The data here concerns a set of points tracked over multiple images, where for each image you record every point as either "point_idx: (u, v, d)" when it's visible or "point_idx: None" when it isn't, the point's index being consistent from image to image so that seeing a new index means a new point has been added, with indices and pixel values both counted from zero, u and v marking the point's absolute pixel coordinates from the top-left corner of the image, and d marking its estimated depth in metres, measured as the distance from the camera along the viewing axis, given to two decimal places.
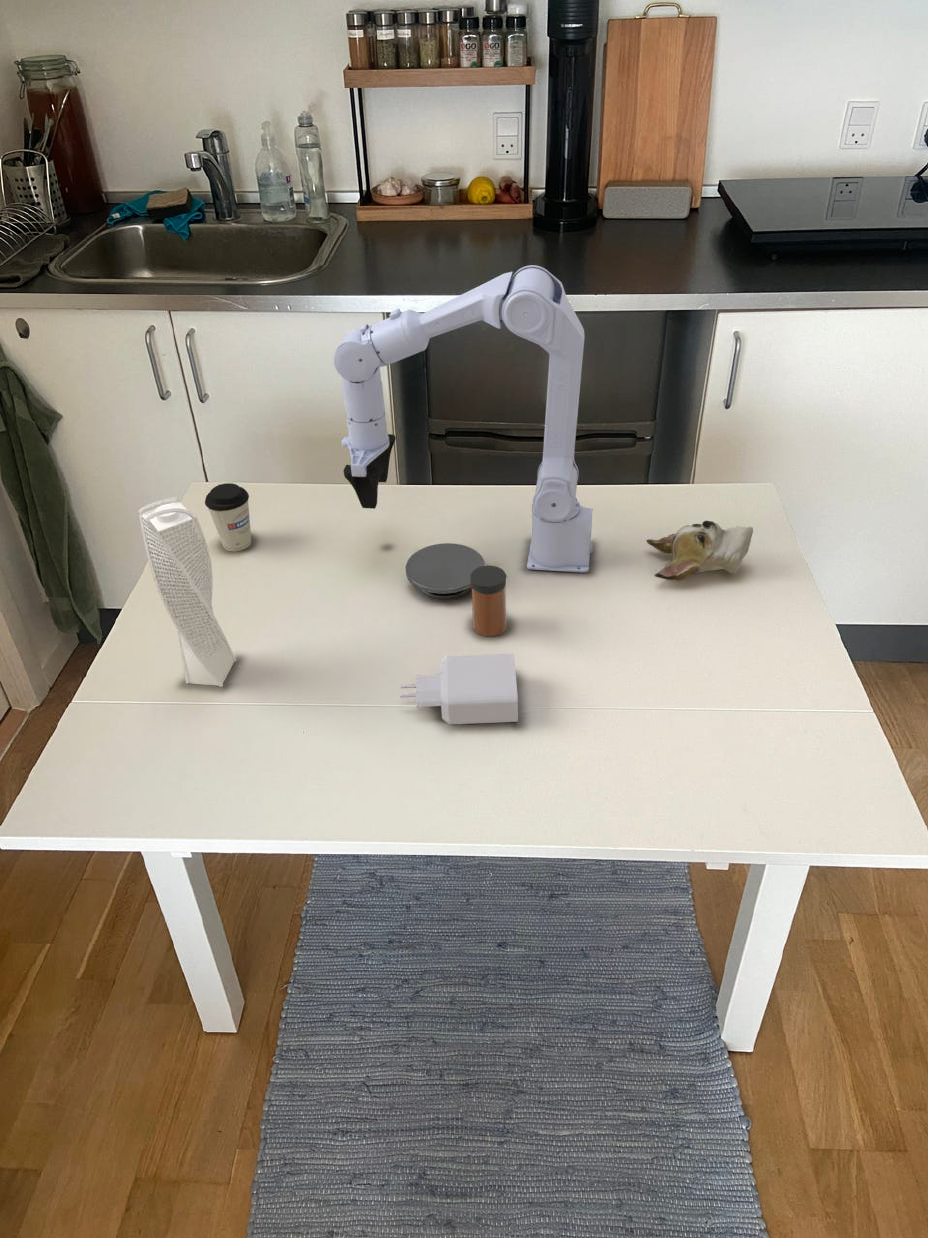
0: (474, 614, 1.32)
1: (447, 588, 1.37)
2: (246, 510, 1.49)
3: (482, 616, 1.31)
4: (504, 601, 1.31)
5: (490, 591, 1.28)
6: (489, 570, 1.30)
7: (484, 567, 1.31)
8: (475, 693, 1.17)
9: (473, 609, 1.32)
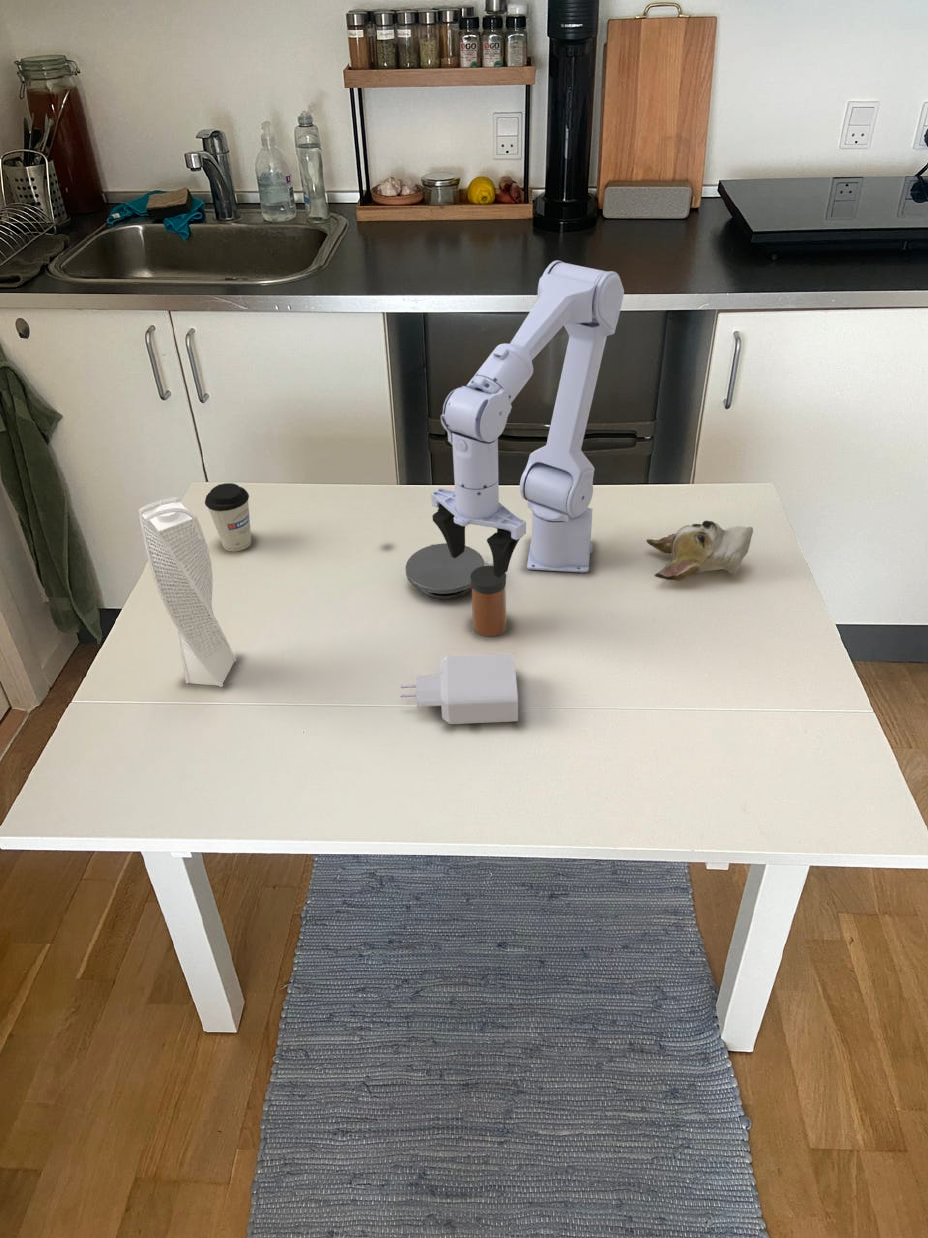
0: (474, 614, 1.32)
1: (447, 588, 1.37)
2: (246, 510, 1.49)
3: (482, 616, 1.31)
4: (504, 601, 1.31)
5: (490, 591, 1.28)
6: (489, 570, 1.30)
7: (484, 567, 1.31)
8: (475, 693, 1.17)
9: (473, 609, 1.32)
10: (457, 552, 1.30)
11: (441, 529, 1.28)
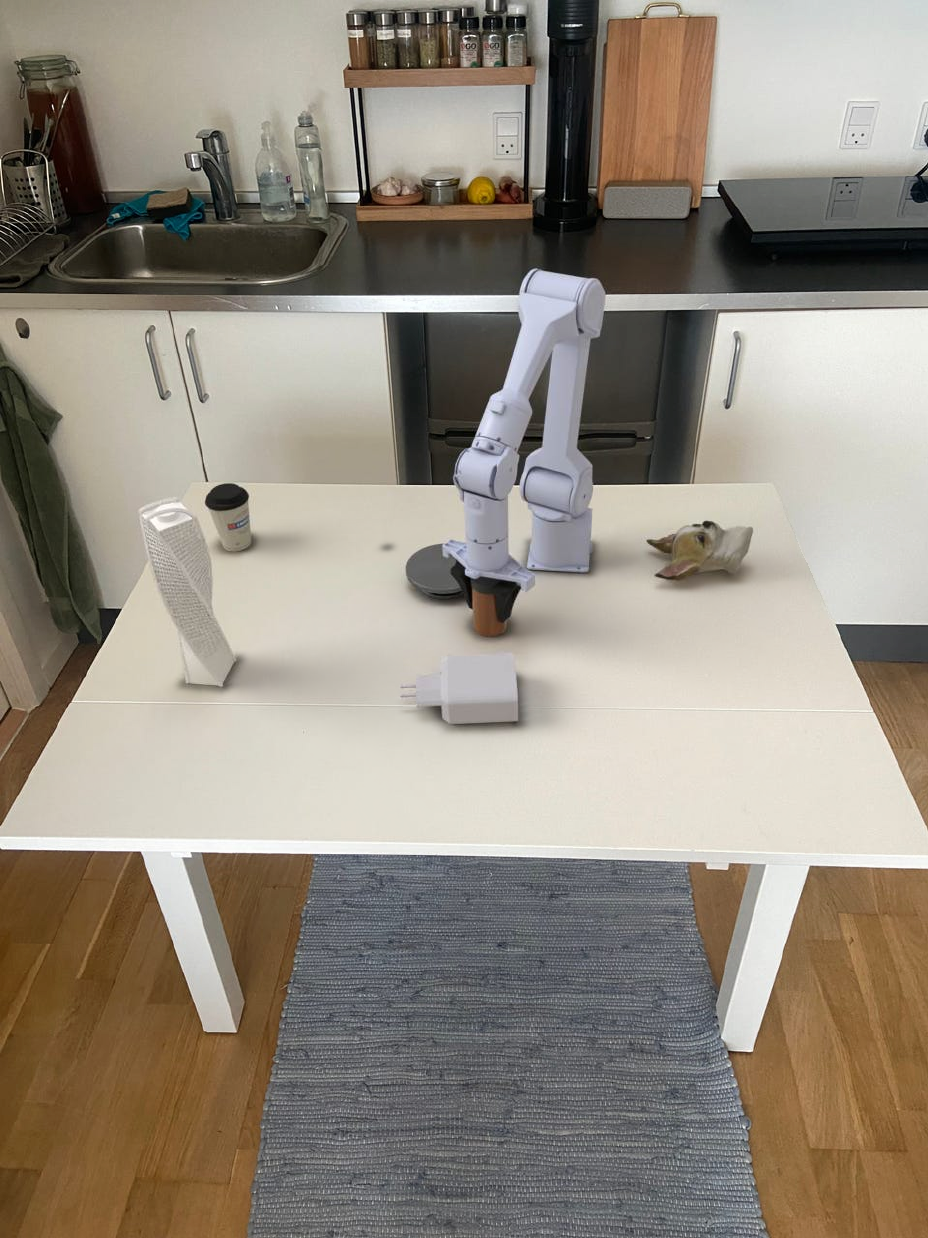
0: (474, 614, 1.32)
1: (447, 588, 1.37)
2: (246, 510, 1.49)
3: (482, 616, 1.31)
4: None
5: (490, 591, 1.28)
6: None
7: None
8: (475, 692, 1.17)
9: (473, 609, 1.32)
10: None
11: (459, 582, 1.31)
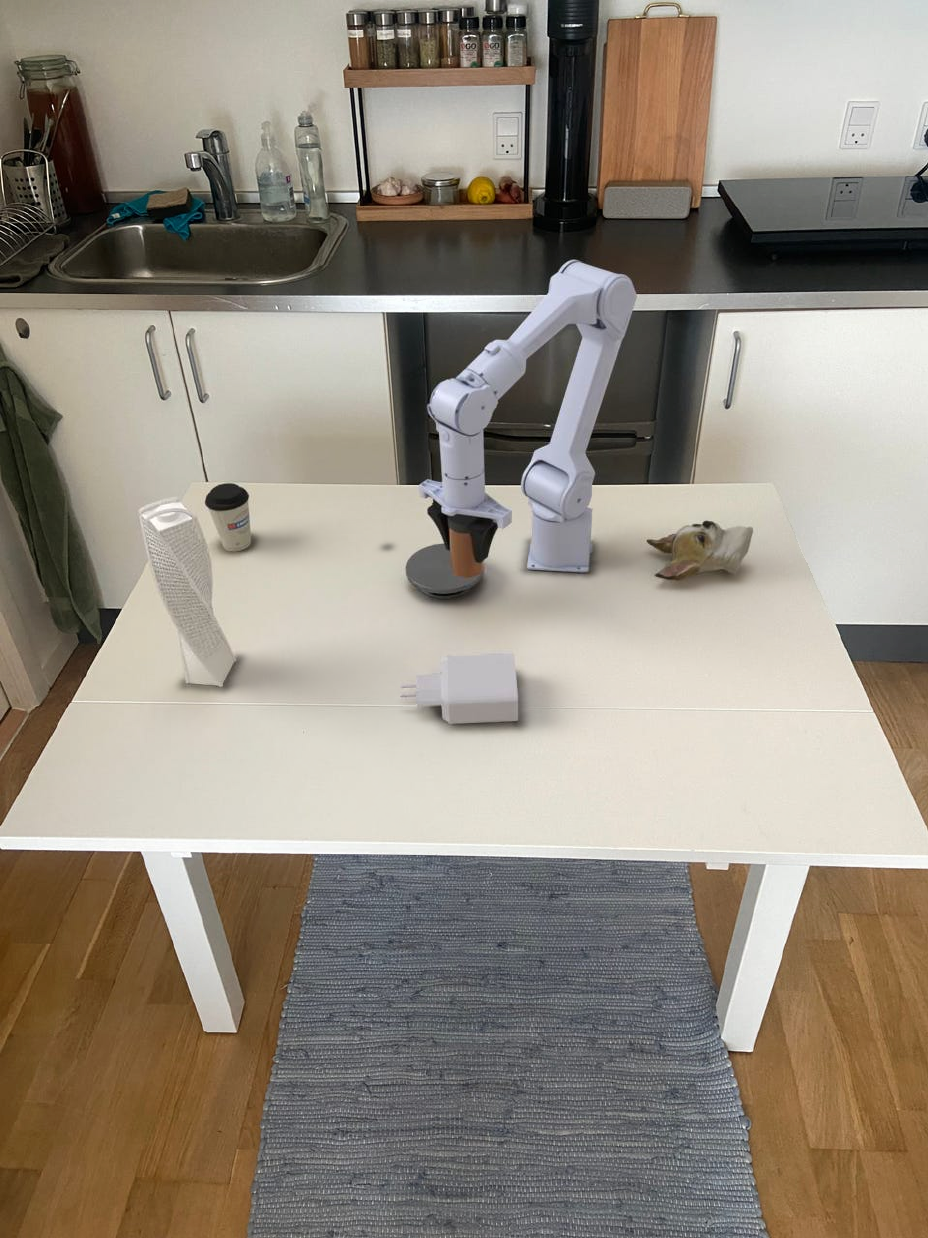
0: (452, 555, 1.32)
1: (447, 588, 1.37)
2: (246, 510, 1.49)
3: (459, 556, 1.30)
4: None
5: (467, 530, 1.27)
6: None
7: None
8: (475, 692, 1.17)
9: (451, 550, 1.31)
10: None
11: (436, 522, 1.30)
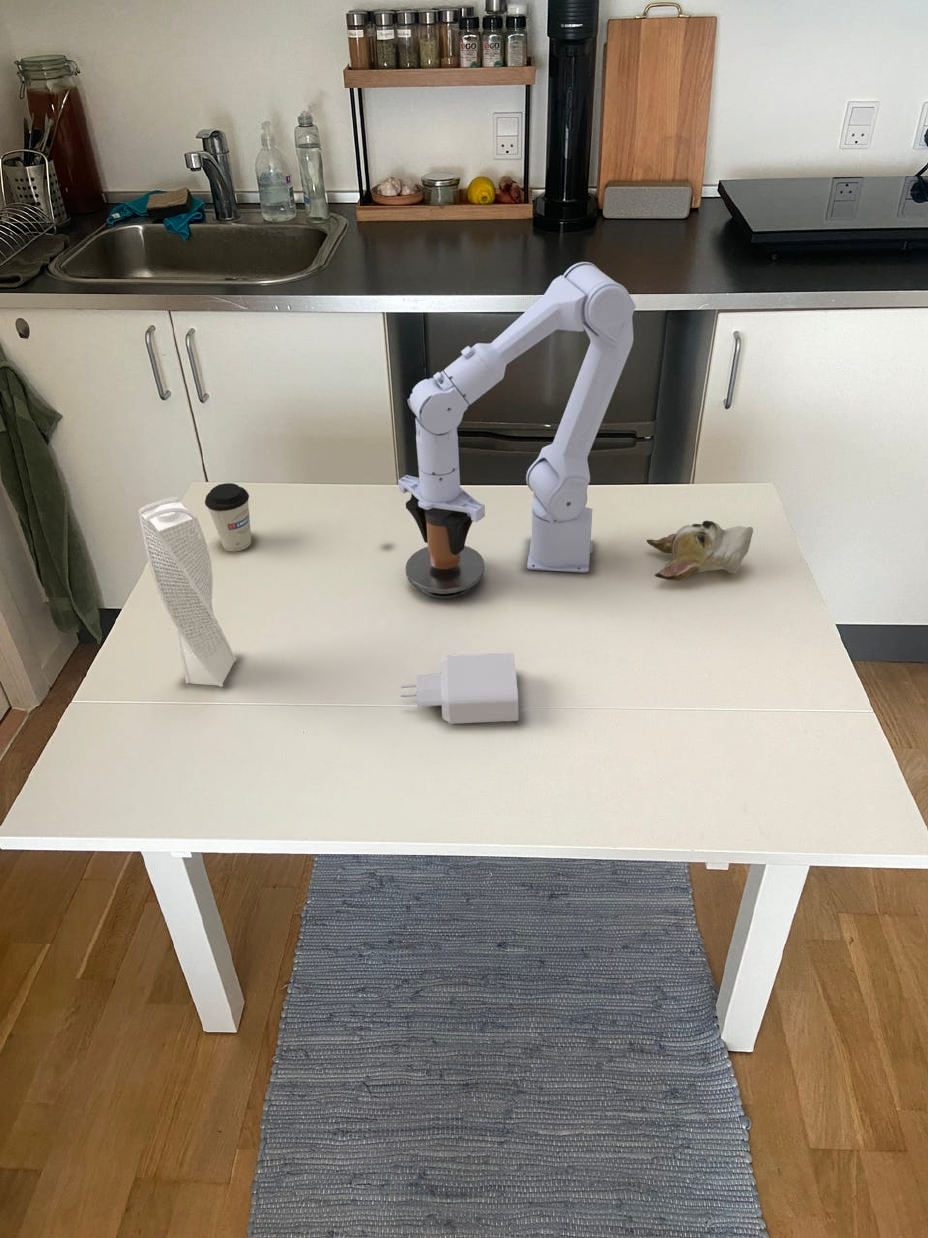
0: (429, 547, 1.38)
1: (447, 588, 1.37)
2: (246, 510, 1.49)
3: (436, 548, 1.37)
4: None
5: (443, 523, 1.34)
6: None
7: None
8: (475, 692, 1.17)
9: (428, 542, 1.38)
10: None
11: (414, 516, 1.37)
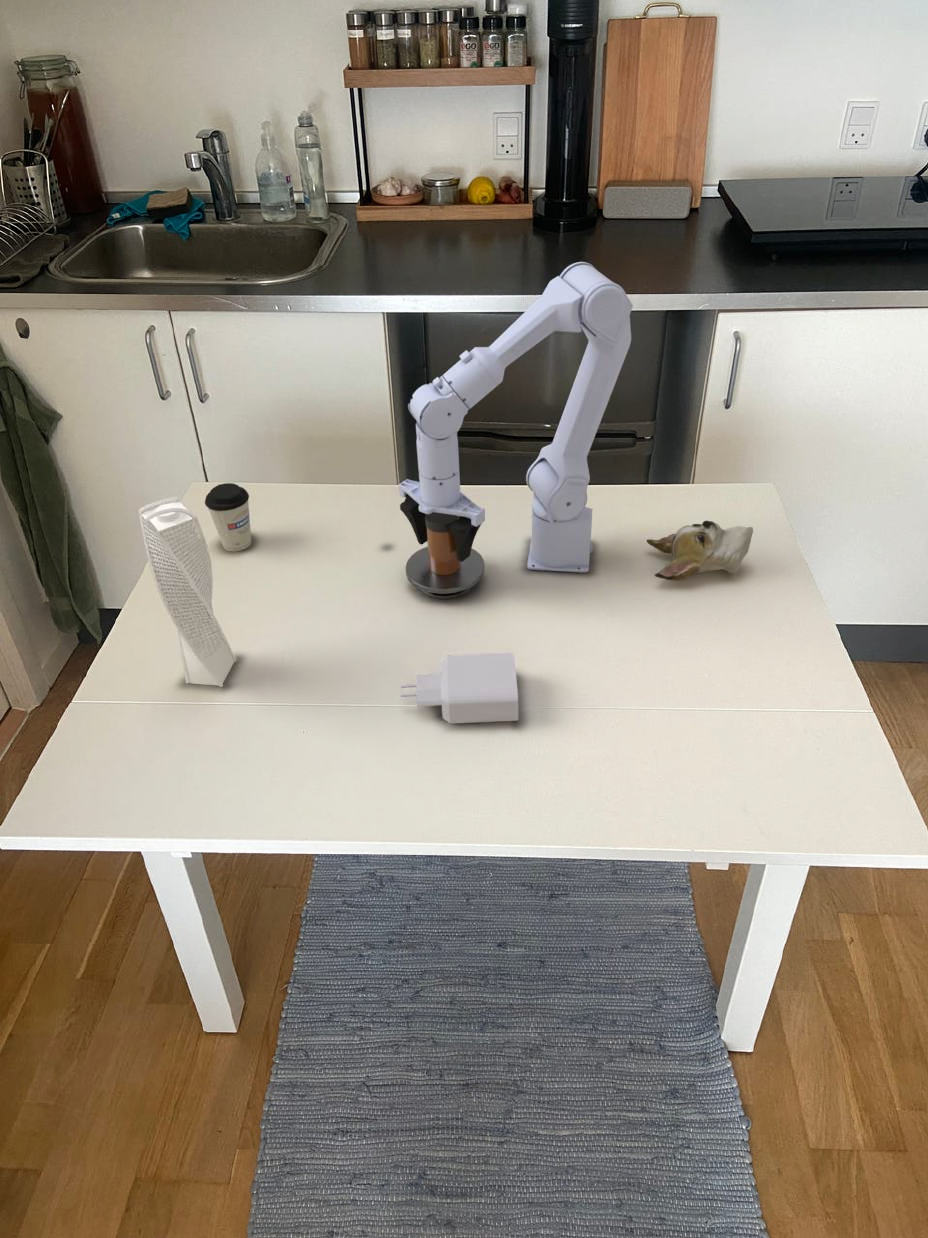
0: (429, 553, 1.39)
1: (447, 588, 1.37)
2: (246, 510, 1.49)
3: (436, 554, 1.38)
4: None
5: (443, 529, 1.35)
6: None
7: None
8: (475, 692, 1.17)
9: (428, 548, 1.38)
10: (424, 539, 1.41)
11: (408, 517, 1.38)
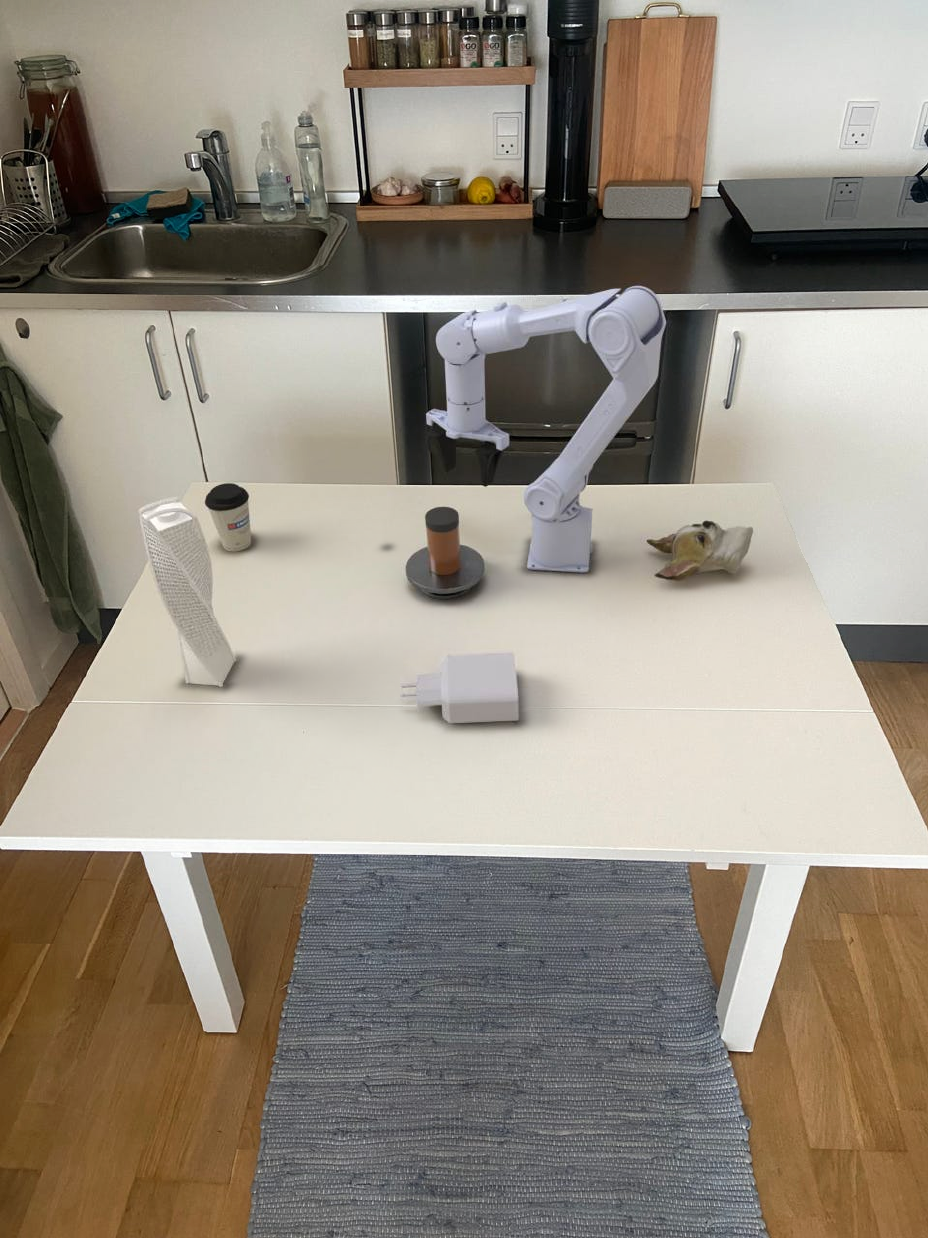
0: (429, 553, 1.39)
1: (447, 588, 1.37)
2: (246, 510, 1.49)
3: (436, 554, 1.38)
4: (457, 540, 1.37)
5: (443, 529, 1.35)
6: (443, 510, 1.37)
7: (438, 508, 1.37)
8: (475, 692, 1.17)
9: (428, 548, 1.38)
10: (449, 467, 1.48)
11: (435, 445, 1.45)
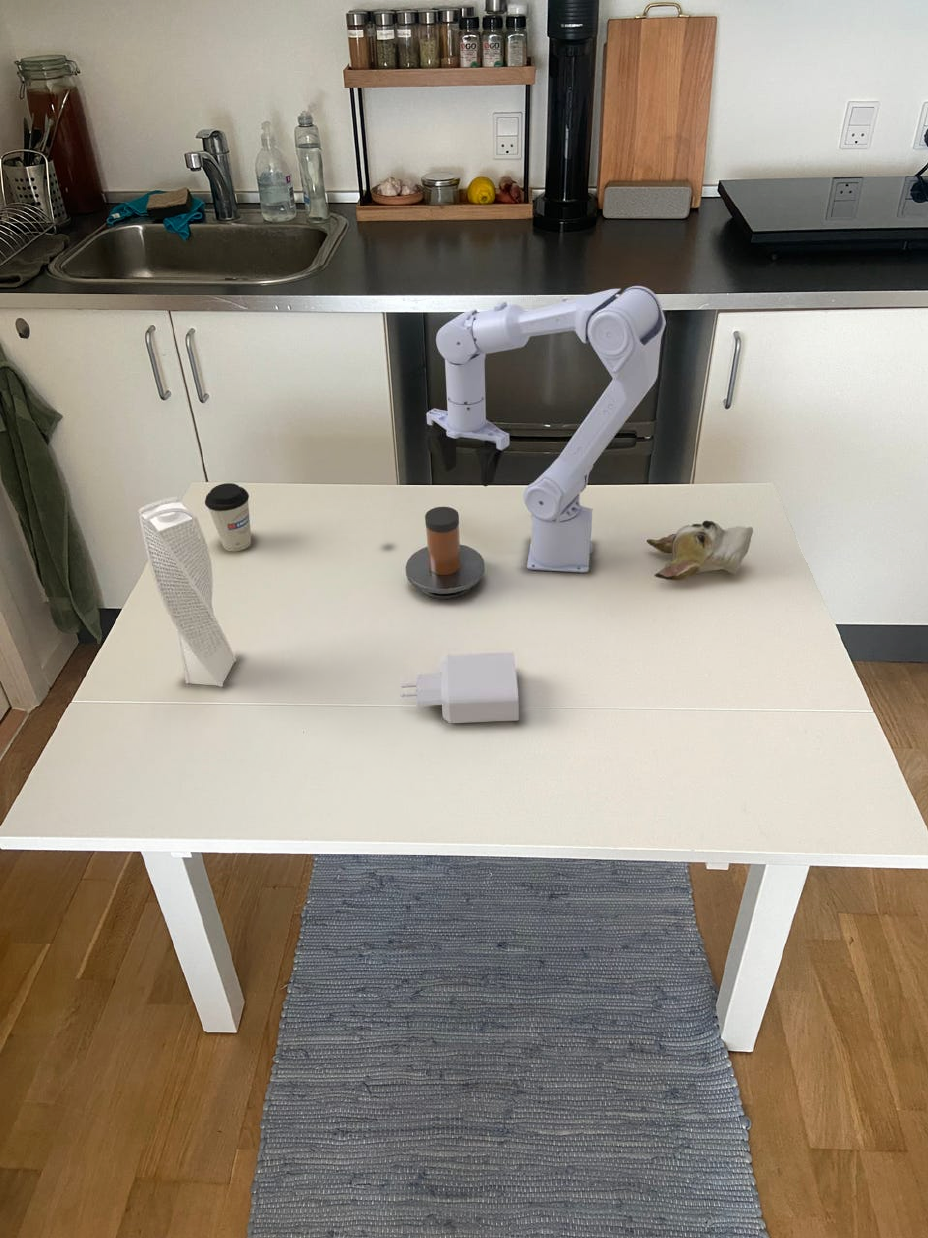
0: (429, 553, 1.39)
1: (447, 588, 1.37)
2: (246, 510, 1.49)
3: (436, 554, 1.38)
4: (457, 540, 1.37)
5: (443, 529, 1.35)
6: (443, 510, 1.37)
7: (438, 508, 1.37)
8: (475, 692, 1.17)
9: (428, 548, 1.38)
10: (449, 466, 1.48)
11: (435, 444, 1.45)
